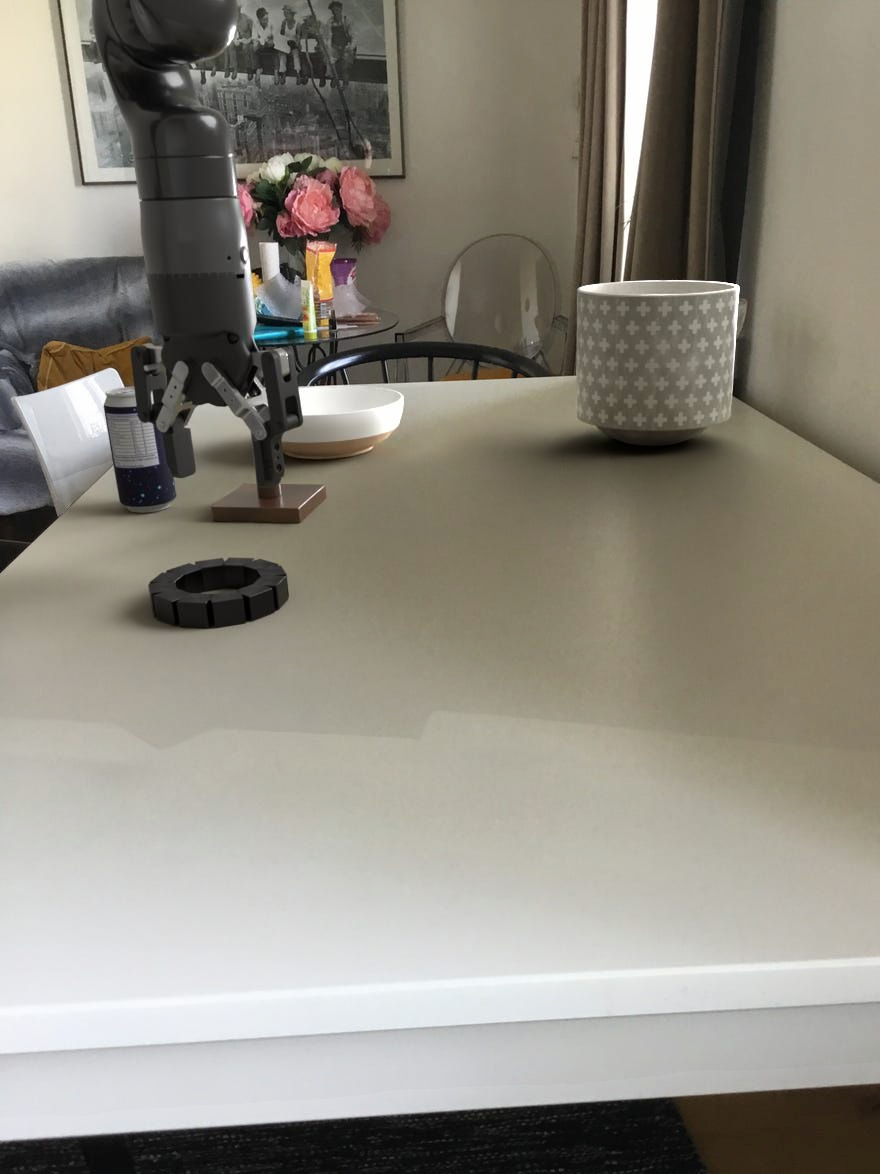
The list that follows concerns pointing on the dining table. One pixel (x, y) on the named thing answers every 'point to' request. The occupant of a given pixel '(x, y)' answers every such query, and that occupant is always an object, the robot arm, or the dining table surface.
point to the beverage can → (137, 455)
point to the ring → (188, 607)
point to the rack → (269, 502)
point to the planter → (655, 358)
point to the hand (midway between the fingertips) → (226, 480)
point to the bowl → (342, 421)
